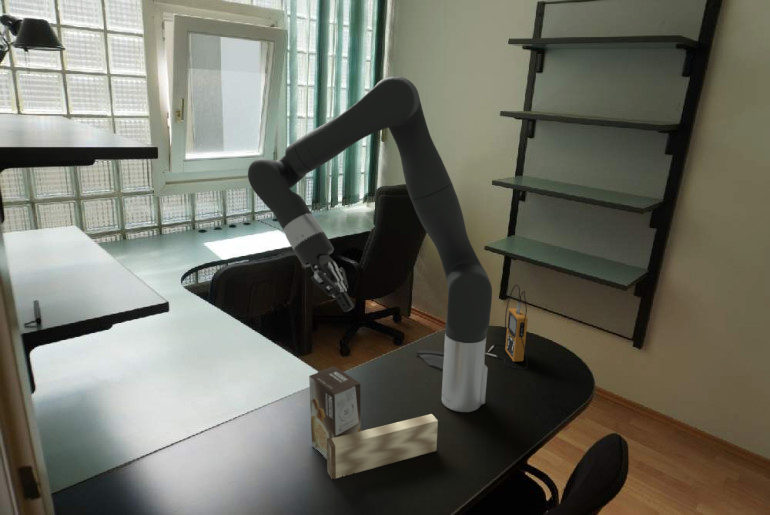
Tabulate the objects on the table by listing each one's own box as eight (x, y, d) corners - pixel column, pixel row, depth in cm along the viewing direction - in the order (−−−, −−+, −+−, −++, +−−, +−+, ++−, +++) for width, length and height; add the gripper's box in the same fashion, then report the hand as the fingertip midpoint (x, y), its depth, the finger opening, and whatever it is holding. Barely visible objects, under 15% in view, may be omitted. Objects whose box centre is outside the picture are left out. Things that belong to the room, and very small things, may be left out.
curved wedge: (430, 349, 147) (430, 344, 147) (470, 365, 139) (470, 360, 138) (411, 359, 142) (411, 354, 141) (451, 377, 133) (452, 371, 132)
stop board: (430, 443, 106) (431, 412, 104) (436, 451, 104) (438, 420, 102) (327, 470, 98) (326, 438, 96) (331, 480, 96) (331, 446, 93)
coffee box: (362, 455, 102) (362, 383, 98) (336, 469, 98) (334, 395, 94) (335, 433, 109) (334, 364, 104) (309, 445, 105) (307, 375, 100)
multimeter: (476, 345, 149) (481, 280, 143) (509, 344, 150) (516, 279, 145) (491, 371, 135) (498, 299, 129) (528, 369, 136) (536, 298, 131)
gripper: (308, 230, 103) (352, 305, 101) (334, 230, 116) (374, 297, 114) (280, 250, 105) (322, 324, 103) (308, 248, 118) (347, 314, 116)
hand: (349, 309), depth 108 cm, fingers closed
